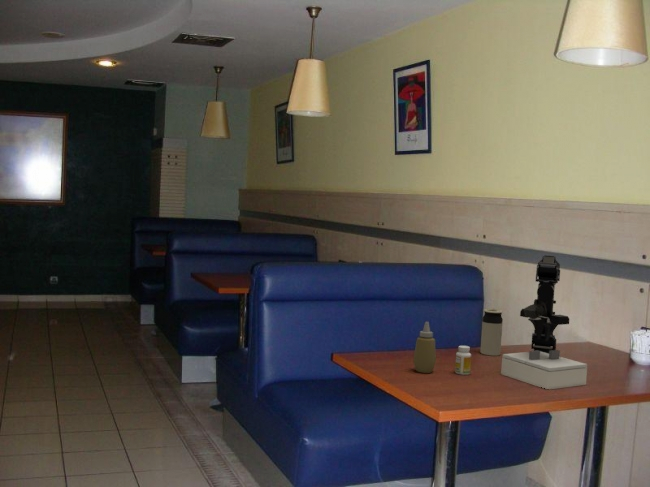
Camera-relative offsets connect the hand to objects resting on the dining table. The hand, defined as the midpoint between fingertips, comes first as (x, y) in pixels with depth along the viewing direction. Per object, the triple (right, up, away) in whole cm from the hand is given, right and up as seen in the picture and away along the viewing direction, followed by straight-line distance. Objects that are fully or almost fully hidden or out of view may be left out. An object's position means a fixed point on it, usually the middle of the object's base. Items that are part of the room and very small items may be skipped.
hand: (542, 339), depth 268 cm
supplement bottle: (-29, -12, -2) cm, 32 cm away
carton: (-2, -13, -5) cm, 14 cm away
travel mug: (-11, -10, +34) cm, 37 cm away
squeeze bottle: (-43, -11, -2) cm, 45 cm away
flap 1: (-4, -7, -1) cm, 8 cm away
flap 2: (+2, -8, -11) cm, 13 cm away
